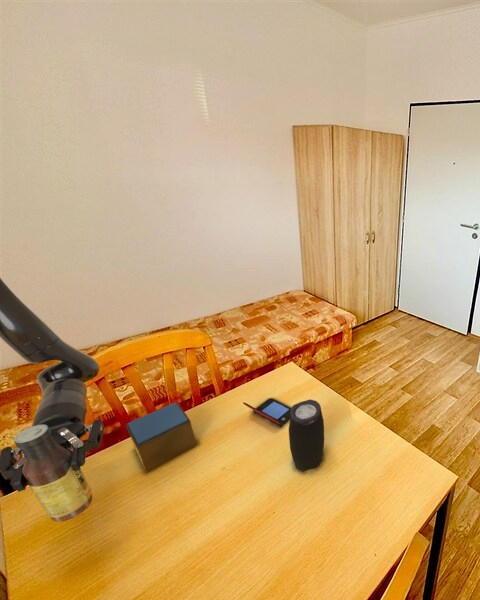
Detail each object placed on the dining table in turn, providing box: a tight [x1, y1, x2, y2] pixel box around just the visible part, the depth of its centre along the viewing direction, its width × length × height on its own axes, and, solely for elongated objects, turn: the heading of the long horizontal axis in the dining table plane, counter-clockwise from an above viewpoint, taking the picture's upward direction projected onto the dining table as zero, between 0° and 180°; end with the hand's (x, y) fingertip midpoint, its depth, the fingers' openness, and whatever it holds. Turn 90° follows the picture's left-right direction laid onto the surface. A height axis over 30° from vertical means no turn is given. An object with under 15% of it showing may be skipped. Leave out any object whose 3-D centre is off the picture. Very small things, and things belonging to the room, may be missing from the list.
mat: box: [127, 402, 188, 445], centre depth 87 cm, size 11×9×1 cm
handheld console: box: [242, 397, 292, 428], centre depth 103 cm, size 12×11×7 cm
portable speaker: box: [288, 398, 325, 473], centre depth 87 cm, size 9×9×20 cm
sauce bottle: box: [13, 425, 93, 523], centre depth 58 cm, size 7×6×20 cm
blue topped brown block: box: [125, 402, 197, 473], centre depth 89 cm, size 12×10×10 cm
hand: (48, 477), depth 56 cm, fingers closed on sauce bottle, 6 cm apart
